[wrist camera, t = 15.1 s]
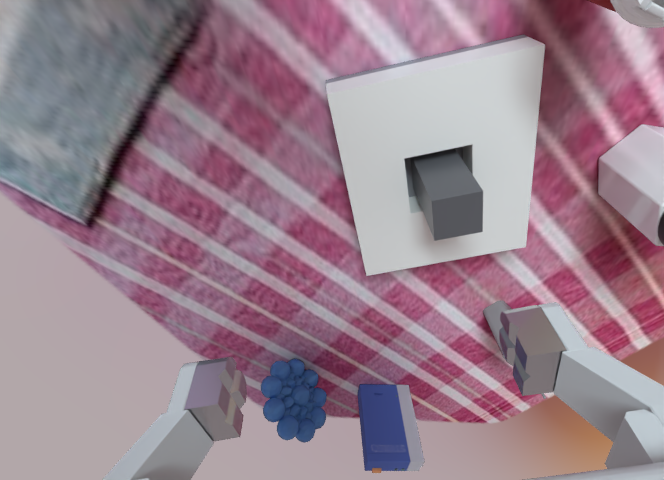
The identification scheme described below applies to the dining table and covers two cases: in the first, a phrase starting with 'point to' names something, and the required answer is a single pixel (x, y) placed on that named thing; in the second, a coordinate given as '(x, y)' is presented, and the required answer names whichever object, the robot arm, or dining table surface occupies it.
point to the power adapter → (497, 320)
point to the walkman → (389, 429)
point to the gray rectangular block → (447, 194)
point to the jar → (636, 180)
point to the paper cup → (637, 11)
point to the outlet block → (439, 146)
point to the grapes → (294, 400)
